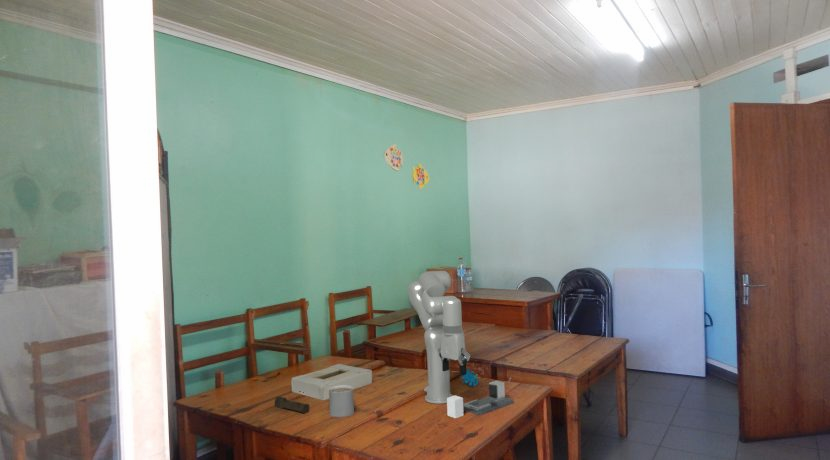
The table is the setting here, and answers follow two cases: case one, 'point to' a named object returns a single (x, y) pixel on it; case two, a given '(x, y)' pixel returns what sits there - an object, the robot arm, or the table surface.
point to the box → (330, 380)
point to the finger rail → (489, 400)
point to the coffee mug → (341, 401)
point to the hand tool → (291, 405)
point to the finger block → (455, 406)
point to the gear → (470, 378)
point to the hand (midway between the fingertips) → (454, 372)
